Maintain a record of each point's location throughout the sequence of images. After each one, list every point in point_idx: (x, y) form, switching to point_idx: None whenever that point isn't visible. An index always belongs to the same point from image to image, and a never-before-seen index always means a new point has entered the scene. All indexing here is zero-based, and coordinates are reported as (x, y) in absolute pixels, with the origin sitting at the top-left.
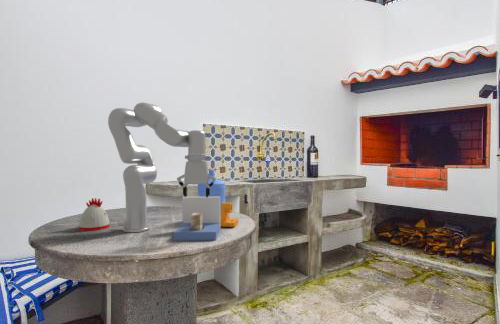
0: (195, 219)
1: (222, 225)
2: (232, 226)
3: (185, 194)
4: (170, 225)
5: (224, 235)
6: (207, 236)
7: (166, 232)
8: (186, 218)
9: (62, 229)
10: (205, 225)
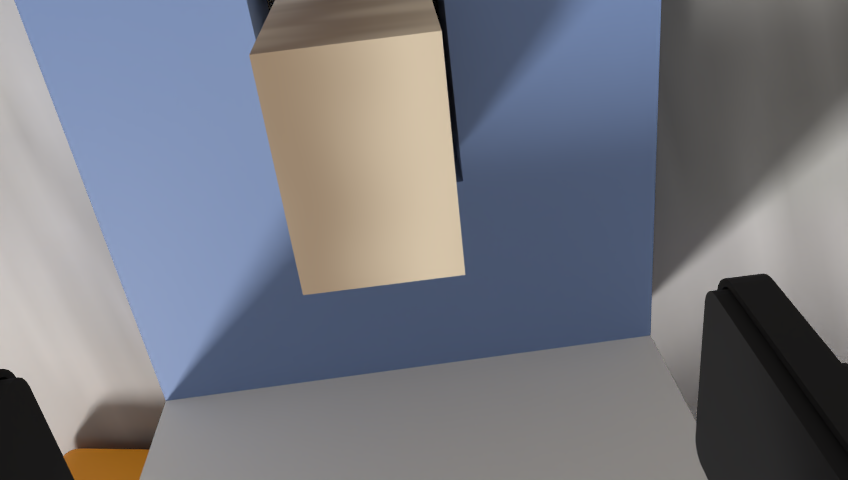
0: (350, 19)
1: None
2: (72, 450)
3: (749, 331)
4: None
5: (21, 125)
6: None
7: (799, 177)
8: (616, 382)
9: None
10: None
